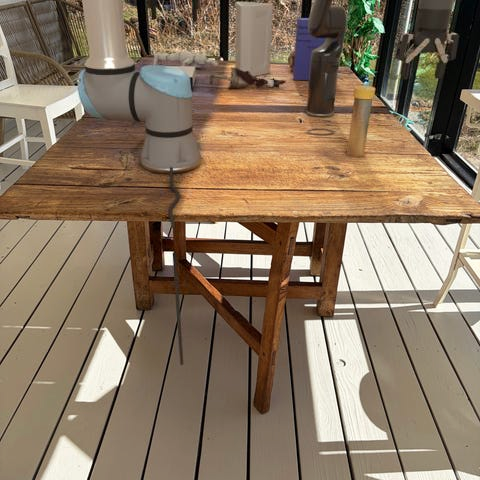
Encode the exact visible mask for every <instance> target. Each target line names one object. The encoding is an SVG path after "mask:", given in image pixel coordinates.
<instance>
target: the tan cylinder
mask: <svg viewBox="0 0 480 480" xmlns="http://www.w3.org/2000/svg"><path fill="white" fill-rule="evenodd" d="M353 97H354V96H353ZM373 101H374V98H373V99H358V98H355V97H354V98H353V106H352V113H351V119H350V126H349V134H348V141H347V150H346V154H347V155H348V156H350V157H354V158H359V157H363V156H365V149H366V144H367V136H368V131H369V124H370V119H371V118H370V117H371V112H372V105H373Z"/></svg>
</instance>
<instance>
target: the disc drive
mask: <svg viewBox="0 0 480 480" xmlns="http://www.w3.org/2000/svg"><path fill="white" fill-rule="evenodd" d="M168 66H169V67H174V68H177V69H180V70H182V71H184V72H185V73H187V74H188V76H189V78H190V83H191V91H194V85H195V81H196V78H197V73H196V72H197V71H196V69H197V68H196V67H195V66H194V65H189V66H182V65H168Z"/></svg>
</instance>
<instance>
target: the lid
mask: <svg viewBox="0 0 480 480" xmlns="http://www.w3.org/2000/svg"><path fill="white" fill-rule="evenodd" d="M353 89H354V90H353V97H355V98H358V99H373V100H374V99H375V94H376V87H374V86H370V85H356V86H354V88H353Z"/></svg>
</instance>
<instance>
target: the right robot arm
mask: <svg viewBox="0 0 480 480" xmlns="http://www.w3.org/2000/svg"><path fill="white" fill-rule="evenodd" d="M333 1H334V0H314V1H313V4H312V7H311V10H310V13H309V16H308V18H309V22H308V31H309V34H310V36H311V37H313V38H326V41H325V43H324V44H323V45H321V46H320V47H318V48H316V49H314V50H313V51H312V53H311V63H310V75H309V80H308V87H307V99H306V109H305V114H307V115H309V116H312V117H319V118H320V117H321V118H325V117H326V118H327V117H331V116H333V115H334V113H335V103H336V99H337V98H336V93H337V86H338V85H337V84H338V77H339V69H340V68H339V67H340V59H341V55H342V54H343V53H342V52H343V49H344V44H345V36H346V31H347V23H348V17H347V11H346V9H345V7H343V6H341V5H333ZM454 4H455V0H419V1H418V6H417V11H416V18H415V22H414V30H413V32H412V33H406V32H401V33H400V34H399V37H398V43H397V48H396V51H395V56H394V58H395V59H396V60H398V61H401V67H400V76H401V78H402V79H404V80H408V79H409V74H410V70H411V61H412V60H414V58H415V57H417V56H418V55H419V54H427V53H430V54H434V55H436V57H437V60H438V61H436V66H435V72H434V78H435V79H438V80H439V79H441V78H442V77H443V76H444V74H445V69H446V65H447V63H448V62H450V61H454V60H455V59H456V58H457V57H456V56H457V52H458V51H457V50H458V44H459V40H460V34H459V33H456V32H450V33H448V28H449V26H450V22H451V18H452V12H453V7H454ZM410 42H412V44H411V46H410V47H409V48H408V49H407V47H408V44H409V43H410ZM445 42H447V49H446V51H445V49H444V47H443V44H444V43H445Z"/></svg>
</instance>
